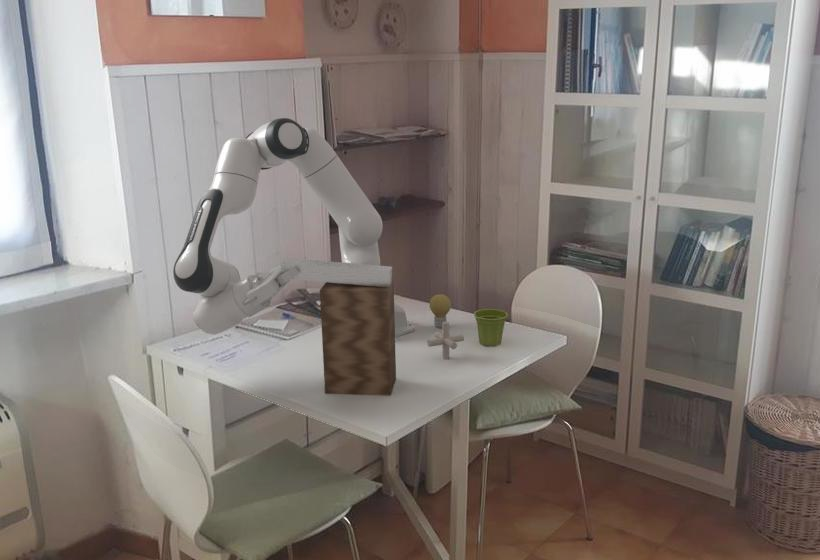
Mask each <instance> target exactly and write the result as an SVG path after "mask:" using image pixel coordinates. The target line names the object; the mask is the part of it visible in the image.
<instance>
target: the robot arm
mask: <svg viewBox="0 0 820 560" xmlns="http://www.w3.org/2000/svg"><path fill="white" fill-rule="evenodd" d="M286 162H290V163H291V164H293V165H294V166H295V167H296V168H297V169H298V171H299V172H300V174H301V175H302V177H303V178H304V179H305V181H306V182H307V184H308V185H309V186H310V188H311V189H312V190H313V192H314V194H315V195H316V196H317V198H318V199H319V201H320V202H321V204H322V205H323V206H324V208H325V210H326V211H327V212H328V214H329V215H330V216H331V218H332V219H333V220H334V222H335V223H336V225H337V226H338V235H339V236H338V237H339V248H340V254H341V255H340V256H341V257H340V259H341V262H342V263H354V264H366V265H378V266H381V258H380V257H381V256H380V249H379V243H378V241H379V240H380V238H381V236H382V235H383V234H382V233H383V227H384V226H383V220H382V216H381V215H380V214H379V212H378V211H377V210H376V208H375V207H374V206H373V203H371V201H370V200H369V198H368V197H367V195H366V194H365V192H364V191H363V190H362V189H361V187H360V185H359V184H358V183H357V181H356V180H355V178H354V177H353V176H352V174H351V173H350V172H349V170H348V169H347V167H346V166H345V164H344V163H343V162H342V159H340V157H339V156H338V154H337V153H336V151H335V150H334V149H333V147H332V146H331V145H330V144H329V142H328V141H327V140H326V139H325V138H324V137H323V135H321V134H320V133H319V131H317V130H316V129H314V128H313V127H303V126H302V125H300V123H298V121H295V120H294V119H292V118H287V117H281V118H276V119H273V120H271V121H269V122H267V123H264V124H262V125H260V126H259V127H258V128H256V130H254V131H251V133H249V134H248V135H247V136H246V137H239V136H238V137H232V138H230V139H227V140H226V141H225V142H224V144H223V146H222V148H221V150H220V153H219V156H218V159H217V162H216V165H215V170H214V174H213V179H212V182H211V184H210V187H209V189H208V190H207V191H205V192H204V193H203V195H202V196H201V198H200V200H199V202H198V203H197V206H196V208H195V209H196V210H195V212H194V215H193V217H192V221H191V224H190V227H189V229H188V232H187V236H186V239H185V242H184V244H183V247H182V249H181V251H180V253H179V254H178V256H177V258H176V260H175V262H174V265H173V268H172V269H173V271H172V273H173V279H174V282H175V284H176V286H177V287H178V288H179V289H180V290H182V291H184V292H188V293H194V294H198V302H197V306H196V308H195V310H194V311H193V312H192V319H193V321H194V323H195V325H197V327H198V328H199V329H200V330H201V331H203V332H204V333H207V334H210V335H217V334H221V333H223V332H226V331H228V330H230V329H231V328H234V327H235V326H238V325H239V324H241V323H242V321H244V320H245V319H247V318H251V317H253V316H255V315H256V314H259V313H261V312H262V311H264V310H265V309H267V308H268V307H269V306H270V305H271V301H272V299H273V297H275V296H276V295H277V294H278V293H279V292H280V291H281V290H282V289H284V287H285V286H286V285H287V284H288V283H289V282H290V281H291V280H292V279H291V278H293V277H294V276H296V275H298V273H299V270H298V268H297V267H294V268H292V269H290V270H289V271H287V272H285V273H284V274H281V264H279V265H277V266H275V267H273V268H271V269H268V270H267V271H264V272H263V271H260V272H258V273H256V274H251V275H248V276H246V277H245V278H242V279H241V277H240V273H239V270H238V269H237V267H235V266H234V265H232V264H231V263H229V262H227V261H224V260H221V259H218V258H216V257H214V256H212V253H211V248H212V244H213V242H214V238H215V235H216V231H217V228H218V226H219V222H221V220H222V218H224V217H225V216H229V215H230V216H231V215H232V216H233V215H237V214H241V213H243V212H245V211H247V210H248V209H249V208H250V207H252V204H253V203H254V201H255V199H256V194H257V189H258V182H259V177H260V172H261V171H264V170H269V169H272V168H274V167H275V168H276V167H278V166H281V165H283V164H285V163H286ZM394 316H395V338H397V337H400V336H403V335H406V334H409V333H411V332H414V331H415V330H416V329H415V325H414V324H413V323H412V322H410V321H408V319H407V315H406V312H405V310H404V308H403V307H401V305H399V304H398V303H396V302H394Z"/></svg>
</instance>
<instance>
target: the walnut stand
mask: <svg viewBox="0 0 820 560" xmlns="http://www.w3.org/2000/svg"><path fill="white" fill-rule="evenodd" d="M394 282H395V281H394V279H392V281H391V285H390V287H377V286H366V285H354V284H343V283H331V282H324V284H323V286H322V287H321V288H320V289H319V300H320V301H319V302H320V319H321V320H320V322H321V323H320V324H321V338H322V344H321V345H322V357H323V358H322V361H323V378H324V379H323V382H324V394H328V395H329V394H331V395H333V394H334V395H363V396H364V395H367V396H391V395H392V393H393V389H394V386H395V384H396V381H397V372H396V371H397V367H396V366H397V365H396V359H397V358H396V337H395V316H394V303H395V283H394Z"/></svg>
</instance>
